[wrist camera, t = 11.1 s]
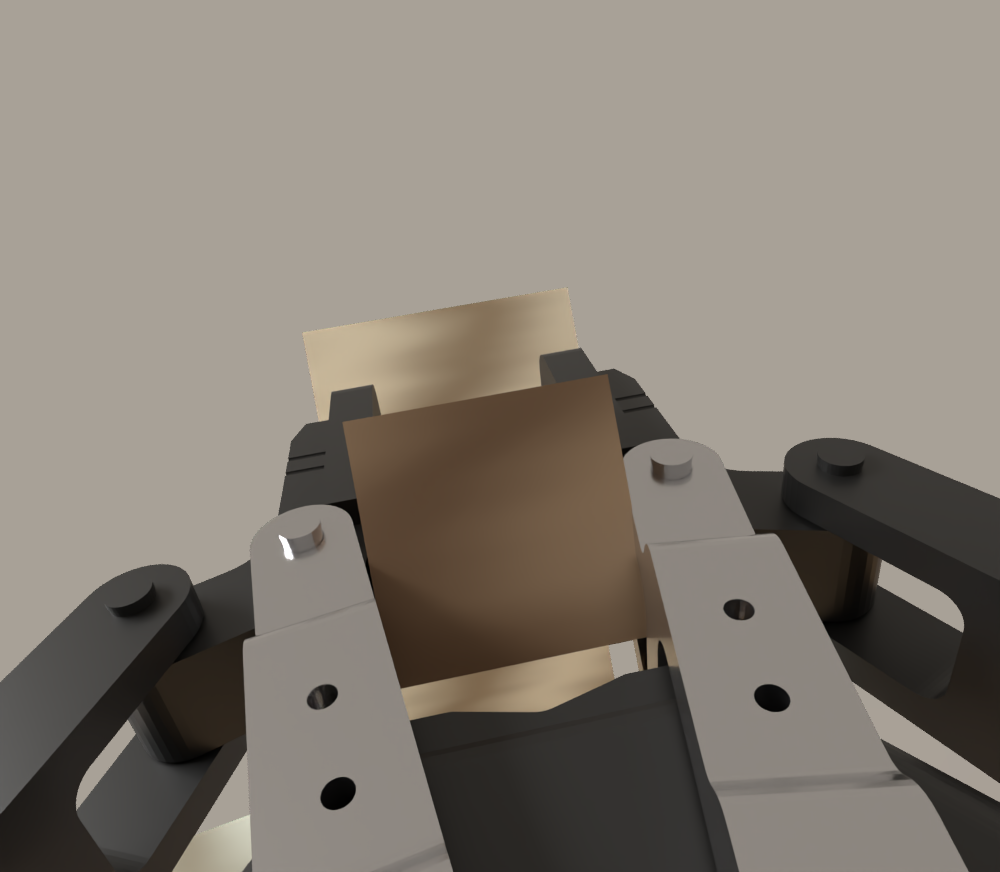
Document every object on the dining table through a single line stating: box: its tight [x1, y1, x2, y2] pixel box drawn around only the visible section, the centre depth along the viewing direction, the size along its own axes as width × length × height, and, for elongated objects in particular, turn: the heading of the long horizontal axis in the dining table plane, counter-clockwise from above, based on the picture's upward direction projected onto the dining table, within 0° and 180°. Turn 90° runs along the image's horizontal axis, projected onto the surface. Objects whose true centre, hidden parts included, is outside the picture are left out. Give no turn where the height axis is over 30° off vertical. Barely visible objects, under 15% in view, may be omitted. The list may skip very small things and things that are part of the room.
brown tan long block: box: [303, 287, 647, 689], centre depth 17 cm, size 7×18×6 cm, turn 4°
